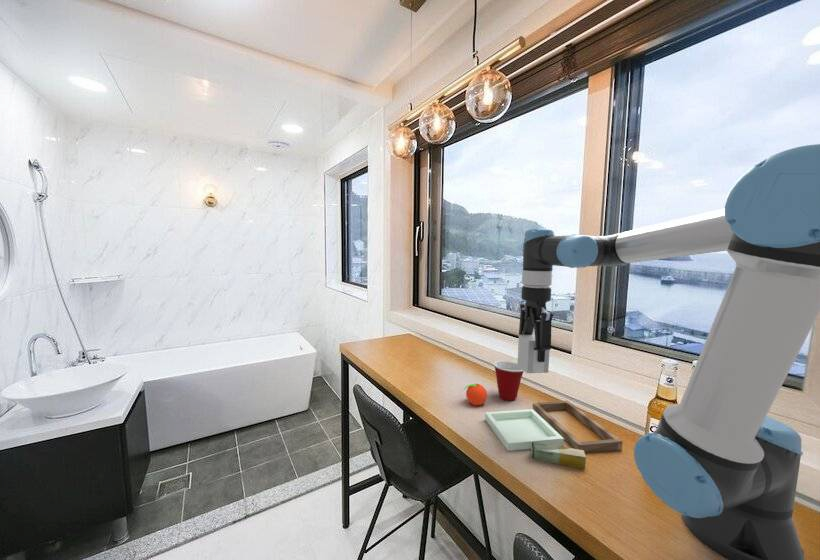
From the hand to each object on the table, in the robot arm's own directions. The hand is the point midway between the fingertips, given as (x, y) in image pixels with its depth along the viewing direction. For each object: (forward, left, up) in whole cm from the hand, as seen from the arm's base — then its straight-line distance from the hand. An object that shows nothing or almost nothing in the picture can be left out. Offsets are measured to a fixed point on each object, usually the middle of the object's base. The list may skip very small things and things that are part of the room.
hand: (532, 367), depth 88 cm
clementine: (+18, +10, -19) cm, 28 cm away
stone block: (0, 0, 0) cm, 0 cm away
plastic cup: (+21, -4, -19) cm, 29 cm away
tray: (-1, +3, -19) cm, 20 cm away
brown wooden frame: (0, -14, -19) cm, 24 cm away
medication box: (-13, 0, -20) cm, 24 cm away
